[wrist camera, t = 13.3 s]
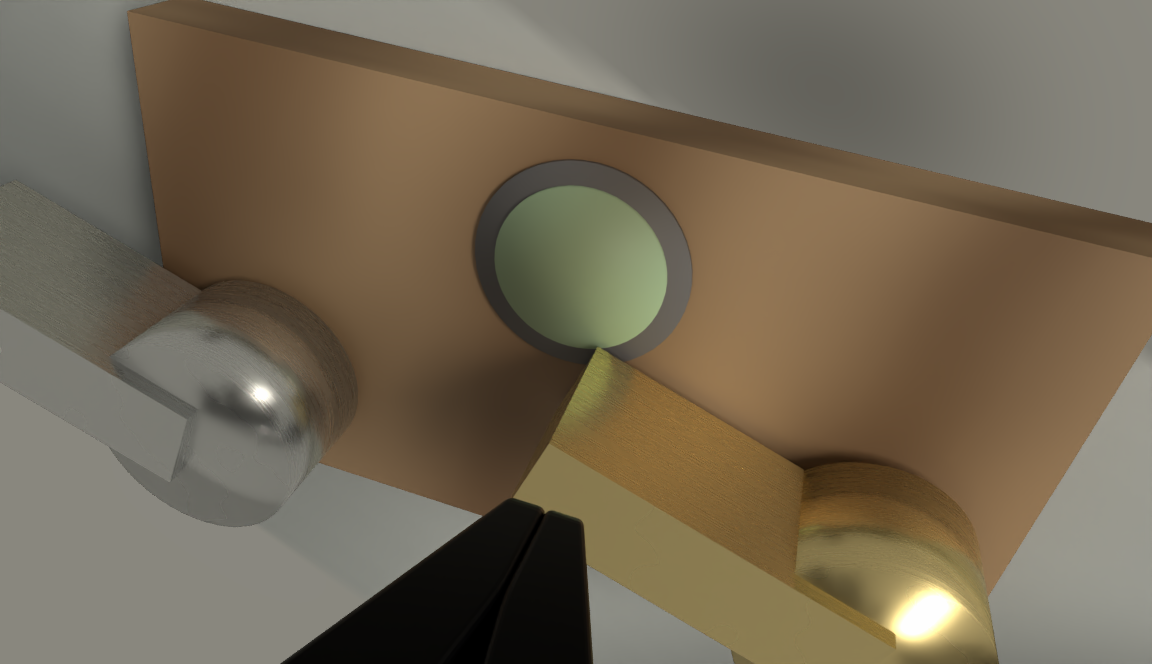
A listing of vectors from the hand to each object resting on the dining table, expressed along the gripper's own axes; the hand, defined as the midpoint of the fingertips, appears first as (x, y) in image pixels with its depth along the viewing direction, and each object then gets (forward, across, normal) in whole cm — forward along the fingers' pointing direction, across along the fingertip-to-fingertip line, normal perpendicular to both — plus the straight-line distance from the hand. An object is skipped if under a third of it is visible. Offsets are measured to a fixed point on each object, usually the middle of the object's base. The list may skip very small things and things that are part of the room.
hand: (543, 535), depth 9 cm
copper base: (+8, +1, +2) cm, 8 cm away
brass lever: (+6, -3, +3) cm, 7 cm away
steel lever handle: (+6, +9, +3) cm, 11 cm away
